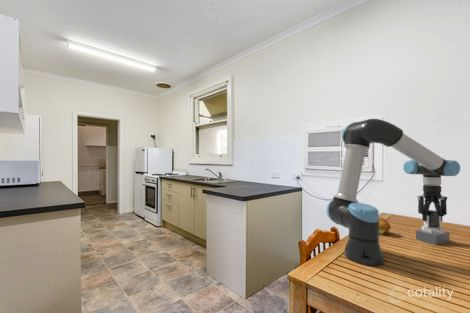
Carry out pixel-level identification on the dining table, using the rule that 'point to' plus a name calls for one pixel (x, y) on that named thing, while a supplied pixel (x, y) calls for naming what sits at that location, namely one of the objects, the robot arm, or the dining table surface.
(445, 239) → the block
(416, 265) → the dining table surface
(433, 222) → the lens
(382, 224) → the orange brown stemmed fruit
